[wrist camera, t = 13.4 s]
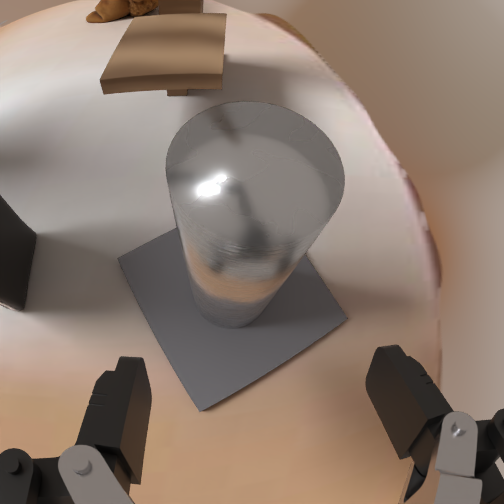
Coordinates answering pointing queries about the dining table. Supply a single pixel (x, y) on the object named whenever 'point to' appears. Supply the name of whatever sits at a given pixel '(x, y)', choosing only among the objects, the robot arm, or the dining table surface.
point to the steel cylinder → (249, 202)
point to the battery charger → (14, 257)
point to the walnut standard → (169, 51)
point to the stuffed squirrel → (120, 9)
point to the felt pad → (218, 338)
